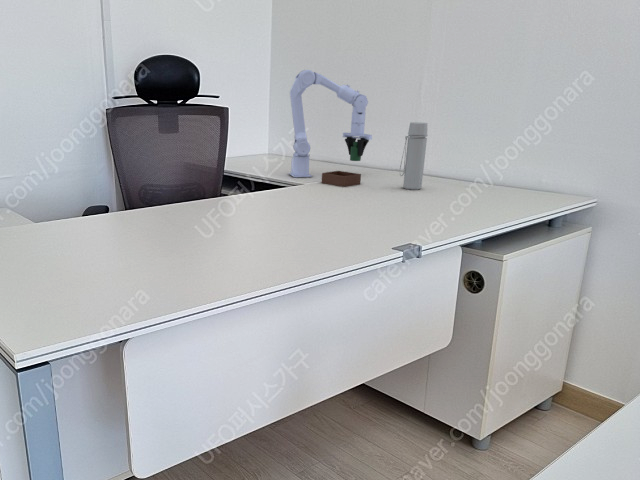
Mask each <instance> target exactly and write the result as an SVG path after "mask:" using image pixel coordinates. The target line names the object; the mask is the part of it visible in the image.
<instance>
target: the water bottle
mask: <svg viewBox="0 0 640 480" xmlns="http://www.w3.org/2000/svg"><path fill="white" fill-rule="evenodd" d="M428 124H429V123H428V122H421V121H420V122H419V121H418V122H417V121H415V122H413V121H412V122H409V127H408V130H407V131H408V132H407V135H405V143H404V147H403V152H402V155H401V161H400V165H399V170H401V168H402V163H403V173H402V174H401V173H399V176H400V177H403V184H402V187H403V189H405V190H411V191H416V190H417V191H418V190H420V189H422V185H423V179H424V168H425V161H426V160H425V159H426V153H427V152H426V149H427V143H428ZM404 157H405V160H404V162H403V159H404Z"/></svg>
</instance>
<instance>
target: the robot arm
mask: <svg viewBox="0 0 640 480" xmlns="http://www.w3.org/2000/svg"><path fill="white" fill-rule="evenodd" d="M312 85H320V86H322V87H324V88H326V89H328V90H330V91H332V92H334V93H335V94H336V97H337V98H338V99H340V100H342V101H344V102H345V103H347V104H349V105H351V106H352V112H351V124H350V126H351V127H350V132H342V138H344V142H345V144H346V148H347V151H348V155H349V156H350V152H351V146H353V142H358V156H361V157H363V154H364V152H365V149H366V146H367V145H368V143H369V142H370V140H372V139H373V134H368V133H365V125H366V124H365V123H366V110H367V109H366V107H367V106H368V104H369V101H368V98H367V96H366V95H365V94H362V93H360V91H359V90H355V89H353V88H352V87H351V86H350V85H349V84H342V85H339V84H338V83H336V82H335V81H333V80H331V79H329V78H328V77H326V76H325V75H323V74H321V73H318V72H316V71H313V70H311V69H304V70H301V71H300V72H299V73H298V74H297V75H296V76H295V78H294V80H293V83H292V85H291V88H290V90H289V98H290V106H291V116H292V124H293V131H294V142H293V145H292V146H293V151H294V153H293V154H292V155H293V156H292V158H291V160H290V161H291V166H290V167H291V168H290V172H289V173H288V175H290V176H292V177H293V178H312V175H311V174H310V157H311V156H310V154H309V153H310V151H311V145H310V143H309V142H308V137H307V132H306V125H305V123H306V122H305V116H304V115H305V114H304V107H303V97H302V95H303V94H304V93H305V91H306V90H307V88H309V87H311V86H312Z"/></svg>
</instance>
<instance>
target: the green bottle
mask: <svg viewBox="0 0 640 480" xmlns="http://www.w3.org/2000/svg"><path fill="white" fill-rule="evenodd" d="M361 160H362V156H358V142H357V141H355V142H353V146H351V152H350V155H349V161H351V162H361Z"/></svg>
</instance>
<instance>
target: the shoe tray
mask: <svg viewBox="0 0 640 480" xmlns="http://www.w3.org/2000/svg"><path fill="white" fill-rule="evenodd" d="M361 177H362V174H361V173H357V172H350V171H344V170H334V171H327V172H322V173H321V184H325V185H332V186H338V187H343V188H345V187H351V186H356V185H357V186H358V185H361Z"/></svg>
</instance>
